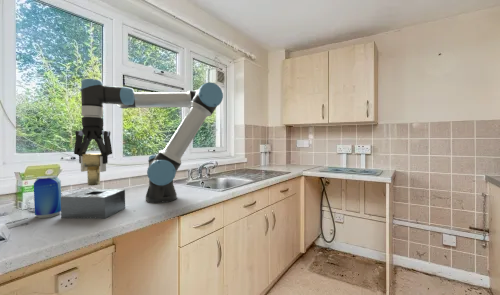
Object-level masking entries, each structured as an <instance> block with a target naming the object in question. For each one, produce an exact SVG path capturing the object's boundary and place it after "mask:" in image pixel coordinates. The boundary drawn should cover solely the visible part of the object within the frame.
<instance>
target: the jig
mask: <svg viewBox="0 0 500 295" xmlns="http://www.w3.org/2000/svg"><path fill="white" fill-rule="evenodd" d="M125 209H126V190H125V189H109V188H108V189H106V188H105V189H104V188H103V189H98V188H95V189H94V188H89V189H88V188H86V189H83V190H79V191H75V192H72V193H69V194H65V195H61V212H60V219H95V220H96V219H101V220H103V219H104V220H105V219H107V218H109V217H111V216H113V215H115V214H116V213H119V212H121V211H122V210H125Z"/></svg>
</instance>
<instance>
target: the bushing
mask: <svg viewBox="0 0 500 295" xmlns="http://www.w3.org/2000/svg"><path fill="white" fill-rule="evenodd" d="M101 155H102V154H101V152H97V153H96V152H95V153H86V154H82V162H83V167H87V171H86V173H87V174H86V176H87V186H92V187H93V186H98V185H100V184H101V172H100V156H101Z"/></svg>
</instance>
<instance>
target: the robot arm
mask: <svg viewBox="0 0 500 295" xmlns="http://www.w3.org/2000/svg"><path fill="white" fill-rule="evenodd" d="M80 95H81V97H80V98H81V99H80V100H81V116H82V117H81V126H82V129H81V130H76V131H75V132H74V133H75V142H74V149H73V154H74V155H77V156H78V158H79V159H78V160H79V161H78V163H79V164H80V172H81V173H82V172H87V167H83V162H82V154H87V151H88V148H89V146H90V143H91V141H92V140H94V141H95V143H96V145H97V147H98V149H99V153H101V154H102V155H101V156H100V173H104V172H106V171H107V164H108V162H109V160H108V158H109V157H108V156H109V155H112V154H113V149H112V141H111V131H109V130H104V118H103V117H104V104H105V105H106V104H110V105H116V106H117V107H118V108H121V109H133V108H137V109H138V108H188V109H189V110H188V111H187V113H186V115H185V116H184V118H183V120H181V122H180V124H179V125H178V127H177V129H176V130H175V132H174V133H173V135H172V136H171V138H170V140H169V141H168V142H167V143H166V146H165V147H164V149H162V150H161V149H160V150H159V151H158V152H157V153H156V154H152V155H149V156H148V159H147V160H148V167H147V170H146V173H147V174H146V175H147V178H148V188H147V190H146V194H145V202H147V203H149V204H151V203H152V204H161V203H167V202H172V201H175V200H176V199H177V196H178V194H177V190H176V188H175V185H174V179H175V177H176V174H177V171H178V170H179V168H180V167H181V165H182V157H183V156H184V154H185V152H186V151H187V149H188V147H189V146H190V144H191V143H192V141H193V140H194V138H195V136H196V134H197V133H198V131H199V130H200V129H201V126H202V125H203V124H204V123H205V120H206V118H207V117H212V115H213V114H214V112H215V110H216V109H217V107H218V106H219V105H221V103H222V101H223V98H224V93H223V91H222V88H221V87H220V86H219V84H217V83H214V82H210V81H208V82H206V83H203V84H201V85H200V86H199V88H198V89H196V90H188V91H187V92H173V91H172V92H169V91H168V92H167V91H164V92H162V91H161V92H160V91H158V92H157V91H156V92H155V91H153V92H151V91H138V92H137V91H135V90H134V88H132V87H127V86H116V85H115V86H111V85H104V83H103V81H102V80H99V79H96V78H95V79H94V78H83V79H82V80H81V87H80Z"/></svg>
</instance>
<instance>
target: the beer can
mask: <svg viewBox="0 0 500 295" xmlns="http://www.w3.org/2000/svg"><path fill="white" fill-rule="evenodd" d="M61 182H62V181H61V180H60V179H59V178H58V175H42V176H37V177H36V179H35V181H34V182H33V198H34V199H33V200H34V201H33V202H34V205H33V207H34V215H35V216H36V217H37V218H38V219H45V218H52V217H55V216H58V215H60V214H61V197H62V184H61Z"/></svg>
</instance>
